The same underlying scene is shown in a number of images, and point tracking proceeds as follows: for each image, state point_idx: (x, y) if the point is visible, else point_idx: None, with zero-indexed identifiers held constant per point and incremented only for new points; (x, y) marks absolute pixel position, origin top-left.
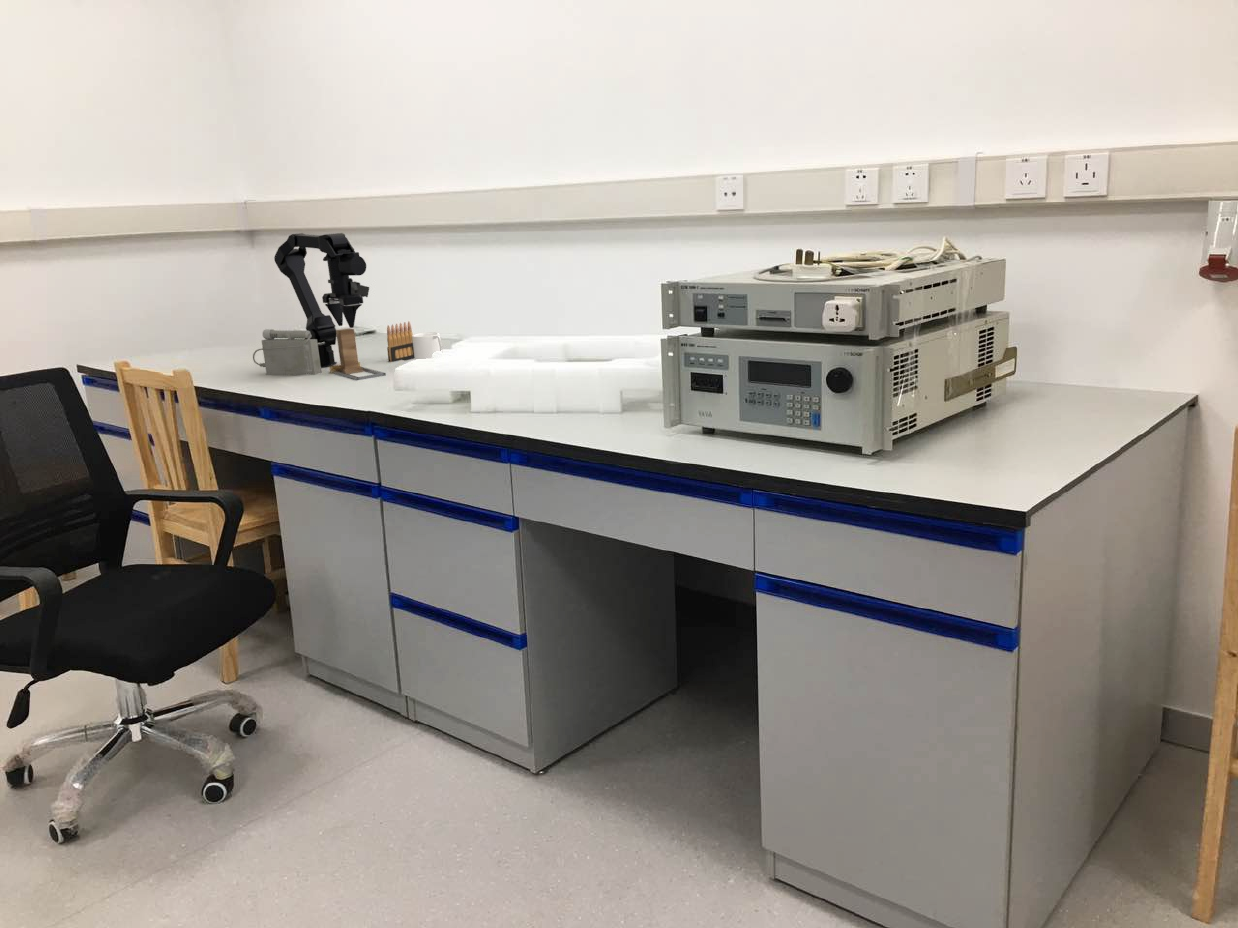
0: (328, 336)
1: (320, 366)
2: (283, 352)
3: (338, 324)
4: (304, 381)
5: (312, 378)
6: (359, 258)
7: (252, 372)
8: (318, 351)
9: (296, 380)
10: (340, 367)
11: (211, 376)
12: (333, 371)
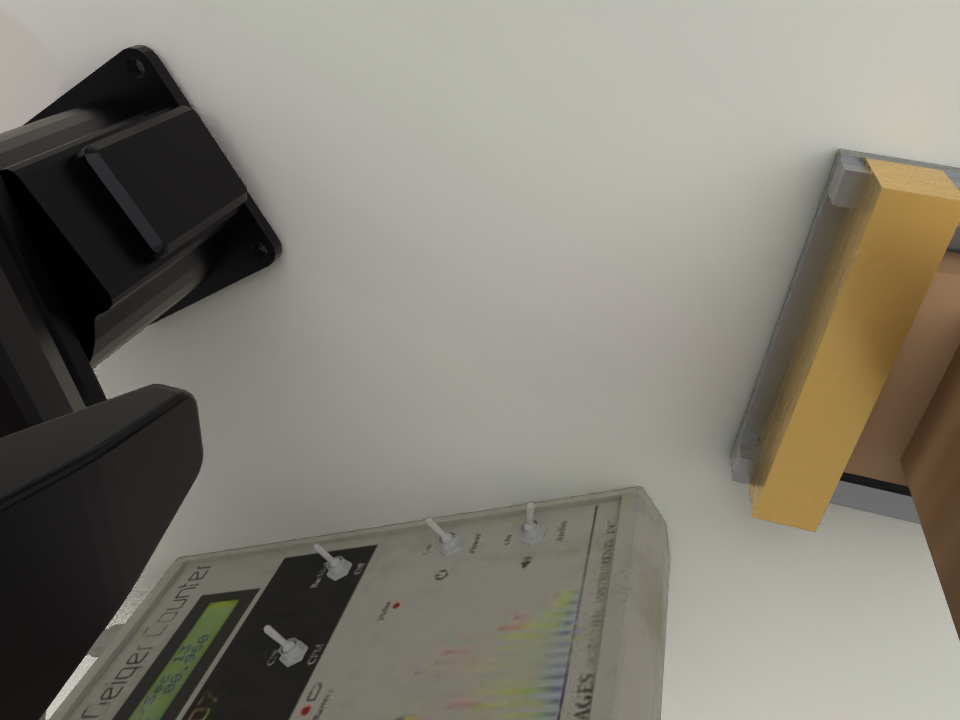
0: (26, 345)
1: (640, 546)
2: None
3: (177, 508)
4: (814, 712)
5: (757, 625)
6: None
7: None
8: (622, 684)
9: (691, 697)
10: (872, 452)
11: None
12: (836, 500)
